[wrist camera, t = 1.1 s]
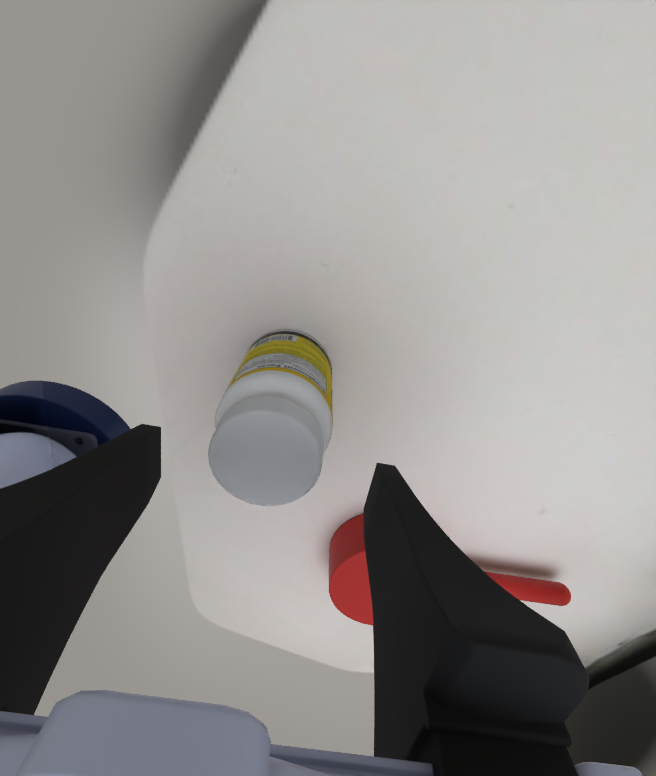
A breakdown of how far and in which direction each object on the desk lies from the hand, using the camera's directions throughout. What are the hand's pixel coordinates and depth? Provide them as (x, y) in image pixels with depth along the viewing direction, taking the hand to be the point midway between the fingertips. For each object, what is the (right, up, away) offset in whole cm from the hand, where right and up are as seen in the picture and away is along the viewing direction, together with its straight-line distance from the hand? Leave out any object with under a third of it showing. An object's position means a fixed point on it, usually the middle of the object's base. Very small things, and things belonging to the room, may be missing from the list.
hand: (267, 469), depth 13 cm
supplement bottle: (0, +4, +8) cm, 9 cm away
